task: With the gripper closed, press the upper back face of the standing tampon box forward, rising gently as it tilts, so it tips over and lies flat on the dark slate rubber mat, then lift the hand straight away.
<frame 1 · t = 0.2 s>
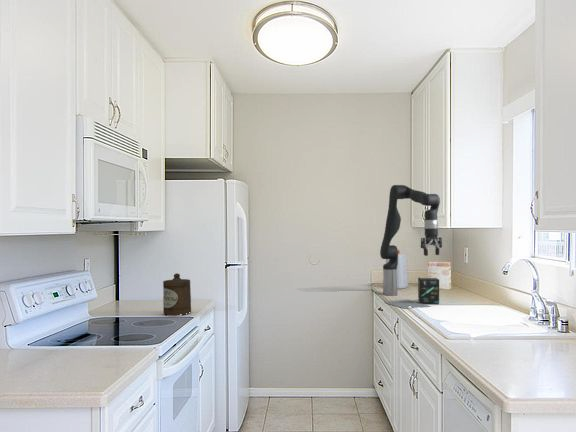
hand: (431, 255, 272), 29 cm above the worktop, fingers open, 8 cm apart
plastic bottle: (396, 288, 346), on the worktop
coffeecake box: (439, 288, 339), on the worktop
wooden container: (177, 313, 255), on the worktop
tampon box: (428, 303, 278), on the worktop, touching display mat
display mat: (406, 304, 273), on the worktop
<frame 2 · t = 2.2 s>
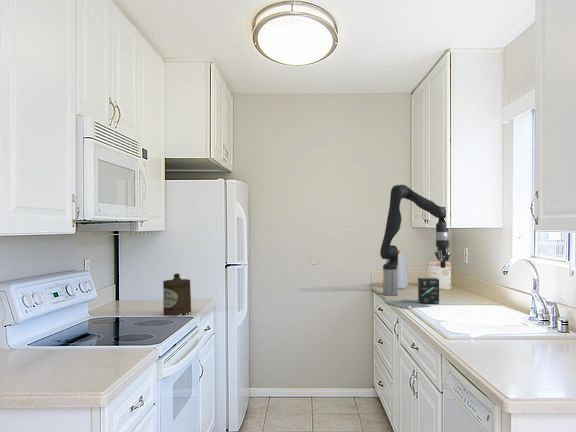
hand: (443, 267, 282), 21 cm above the worktop, fingers closed
nothing on the worktop moved.
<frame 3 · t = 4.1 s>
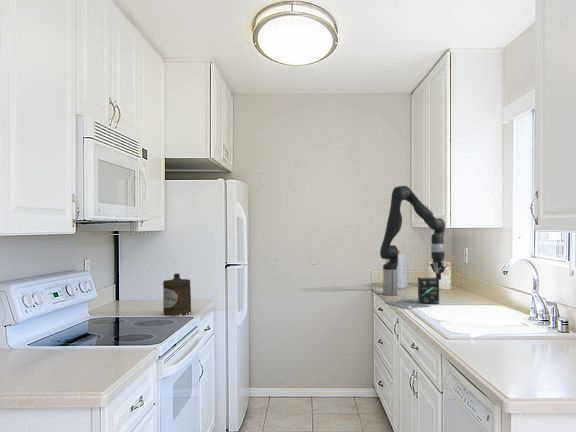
hand: (438, 279, 281), 14 cm above the worktop, fingers closed
tampon box: (428, 302, 278), on the worktop, touching display mat, gripper
everything else where it was.
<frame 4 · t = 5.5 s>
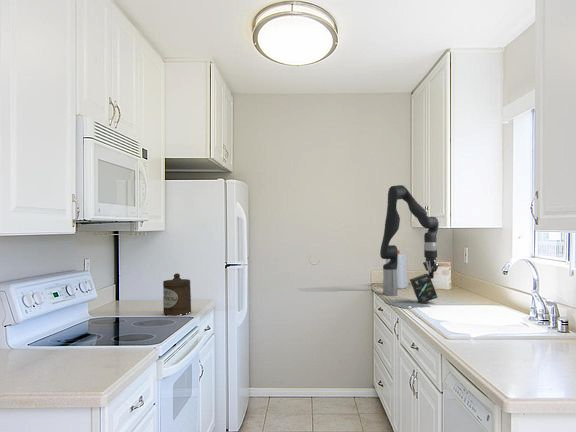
hand: (431, 278, 279), 15 cm above the worktop, fingers closed
tampon box: (428, 300, 278), point 2 cm above the worktop, touching display mat, gripper
everything else where it was.
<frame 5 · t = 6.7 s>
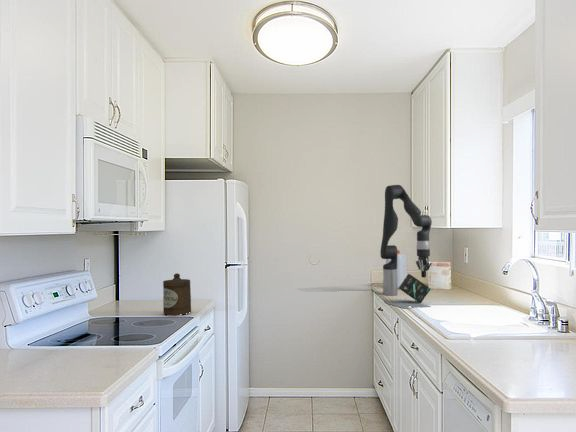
hand: (423, 277, 277), 15 cm above the worktop, fingers closed
tampon box: (424, 295, 278), point 4 cm above the worktop, touching display mat
everything else where it was.
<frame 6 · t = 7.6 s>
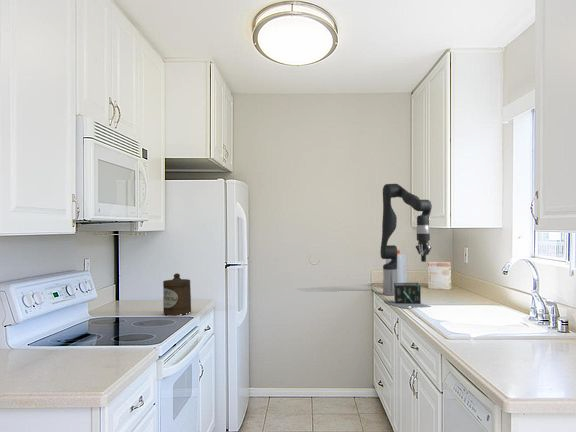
hand: (423, 261, 277), 25 cm above the worktop, fingers closed
tampon box: (419, 293, 278), point 6 cm above the worktop, touching display mat
everything else where it was.
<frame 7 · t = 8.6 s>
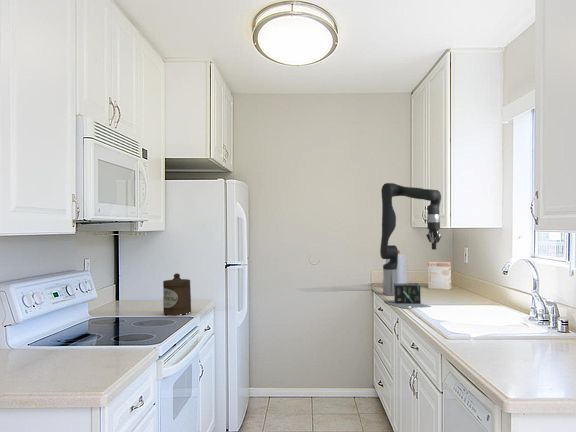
hand: (434, 249, 288), 32 cm above the worktop, fingers closed
nothing on the worktop moved.
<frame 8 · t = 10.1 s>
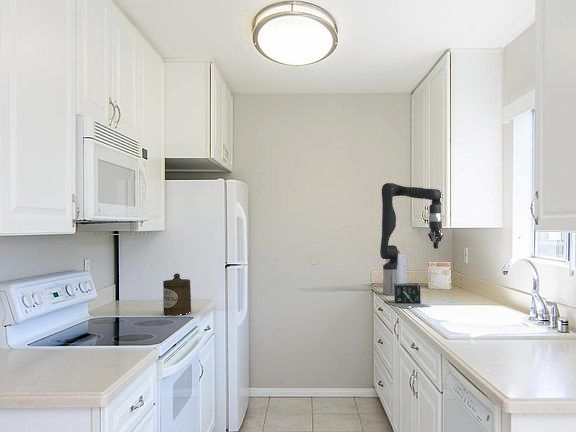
hand: (435, 248, 290), 32 cm above the worktop, fingers closed
nothing on the worktop moved.
at the end: tampon box tilted 90°; tampon box touching display mat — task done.
